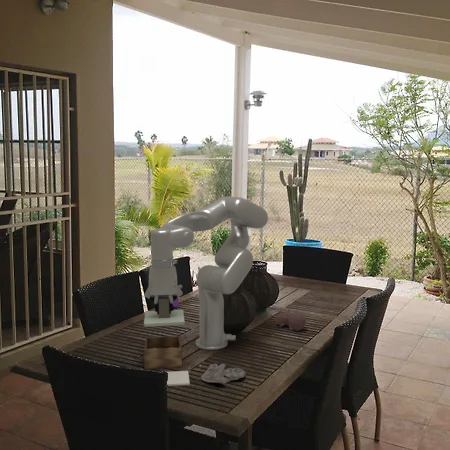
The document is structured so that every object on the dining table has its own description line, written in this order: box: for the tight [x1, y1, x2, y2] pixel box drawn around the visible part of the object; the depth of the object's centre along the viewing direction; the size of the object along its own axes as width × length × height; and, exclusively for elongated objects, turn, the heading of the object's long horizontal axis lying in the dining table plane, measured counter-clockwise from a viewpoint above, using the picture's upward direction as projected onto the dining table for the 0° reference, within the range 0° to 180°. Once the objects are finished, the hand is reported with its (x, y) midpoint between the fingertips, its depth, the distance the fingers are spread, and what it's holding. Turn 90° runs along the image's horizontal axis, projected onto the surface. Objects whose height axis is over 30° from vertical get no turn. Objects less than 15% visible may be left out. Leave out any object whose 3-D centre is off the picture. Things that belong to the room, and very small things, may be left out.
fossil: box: [200, 363, 246, 385], centre depth 179 cm, size 17×4×15 cm
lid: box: [143, 295, 186, 328], centre depth 190 cm, size 14×14×8 cm
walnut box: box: [143, 335, 183, 370], centre depth 192 cm, size 13×13×7 cm
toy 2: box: [275, 311, 307, 331], centre depth 229 cm, size 8×8×15 cm
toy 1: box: [173, 284, 186, 310], centre depth 243 cm, size 10×6×15 cm, turn 68°
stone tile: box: [166, 370, 191, 387], centre depth 177 cm, size 10×10×1 cm
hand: (164, 312), depth 190 cm, fingers closed on lid, 3 cm apart
